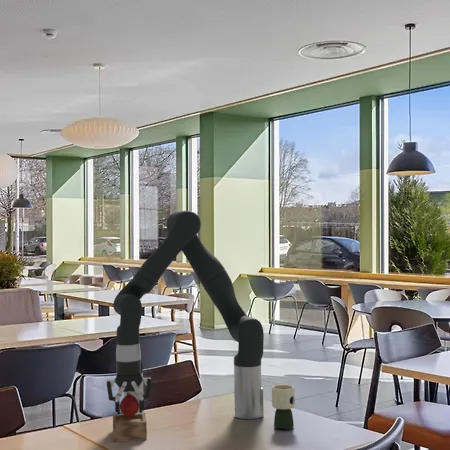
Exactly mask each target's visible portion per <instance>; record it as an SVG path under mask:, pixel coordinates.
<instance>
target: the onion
mask: <svg viewBox="0 0 450 450" xmlns="http://www.w3.org/2000/svg"><path fill="white" fill-rule="evenodd" d="M138 410H139V402H138V400H137V399H136V398H135V397H134V396H133V395H131V394H130V393H129V392H127V395H126V396H125V397H124V396H123V398H122V399H121V401H120V413H121V414H124V415H125V416H126V417H127V418H131V417H133V416H134V415H135V414H136V413H137V412H138Z"/></svg>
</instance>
